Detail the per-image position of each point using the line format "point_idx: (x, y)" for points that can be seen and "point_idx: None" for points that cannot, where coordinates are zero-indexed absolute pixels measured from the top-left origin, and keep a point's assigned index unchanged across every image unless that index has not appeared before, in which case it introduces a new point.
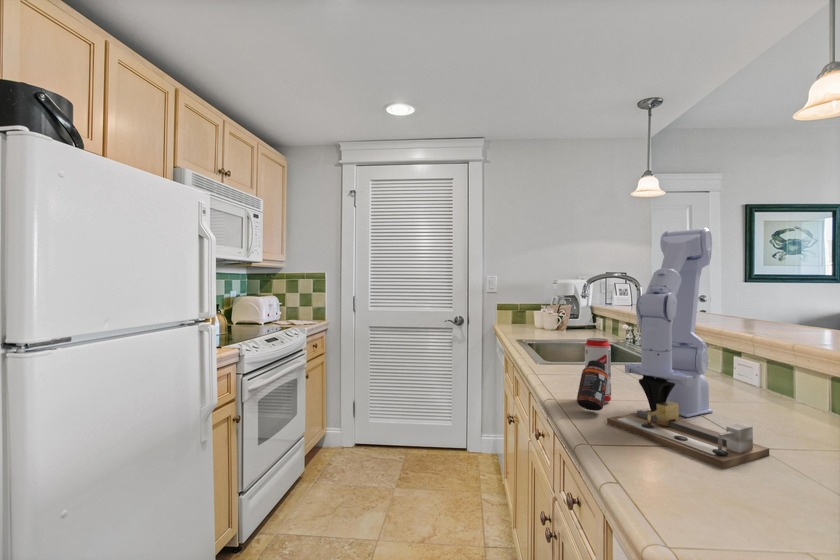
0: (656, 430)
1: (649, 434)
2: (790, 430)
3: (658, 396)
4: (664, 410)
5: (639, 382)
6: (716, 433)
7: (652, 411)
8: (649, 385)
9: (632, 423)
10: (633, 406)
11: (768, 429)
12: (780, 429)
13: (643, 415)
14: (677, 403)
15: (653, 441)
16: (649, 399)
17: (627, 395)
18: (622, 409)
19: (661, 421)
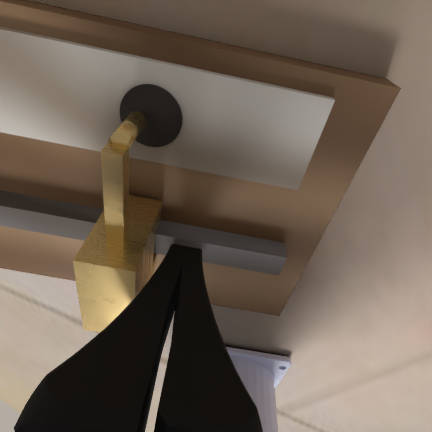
0: (86, 92)
1: (84, 19)
2: (28, 379)
3: (117, 319)
4: (92, 242)
5: (248, 409)
6: (3, 256)
7: (110, 180)
8: (144, 389)
9: (231, 99)
10: (355, 338)
11: (46, 366)
12: (38, 375)
13: (250, 243)
14: (88, 329)
15: (71, 10)
16: (193, 298)
17: (404, 397)
18: (379, 298)
19: (134, 205)
